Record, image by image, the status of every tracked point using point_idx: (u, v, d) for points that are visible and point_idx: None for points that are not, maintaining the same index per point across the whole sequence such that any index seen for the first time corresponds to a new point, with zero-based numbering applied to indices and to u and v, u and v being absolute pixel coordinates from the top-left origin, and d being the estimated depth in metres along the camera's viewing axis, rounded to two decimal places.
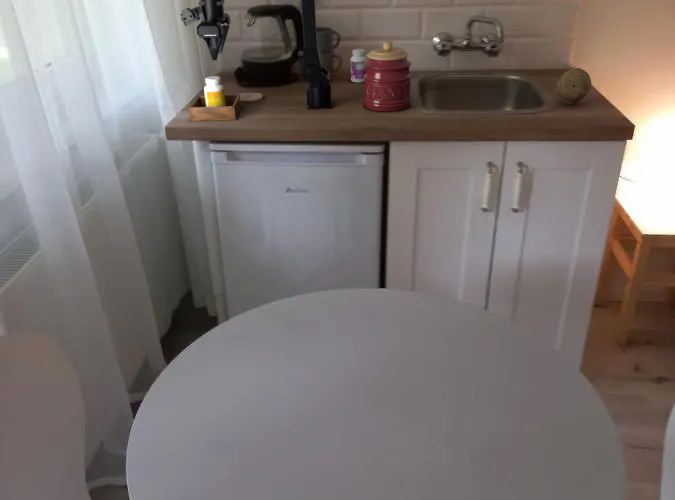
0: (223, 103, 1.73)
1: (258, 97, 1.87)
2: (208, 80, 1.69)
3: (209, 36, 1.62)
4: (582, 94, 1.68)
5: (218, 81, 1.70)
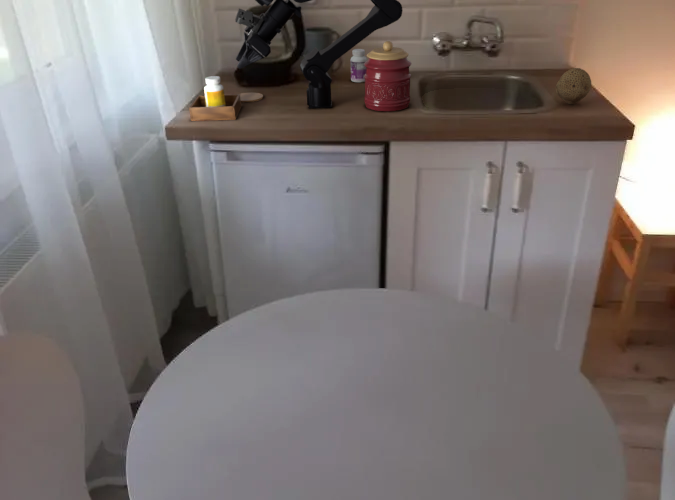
0: (223, 103, 1.73)
1: (258, 97, 1.87)
2: (208, 80, 1.69)
3: (255, 50, 1.61)
4: (582, 94, 1.68)
5: (218, 81, 1.70)
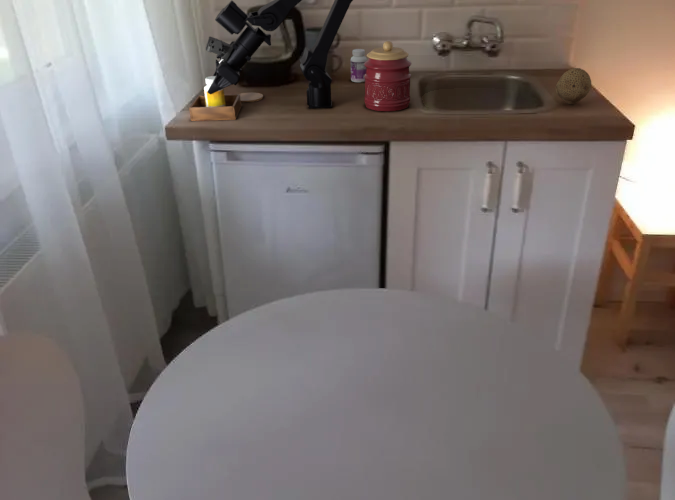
0: (223, 103, 1.73)
1: (258, 97, 1.87)
2: (208, 80, 1.69)
3: (224, 76, 1.65)
4: (582, 94, 1.68)
5: None
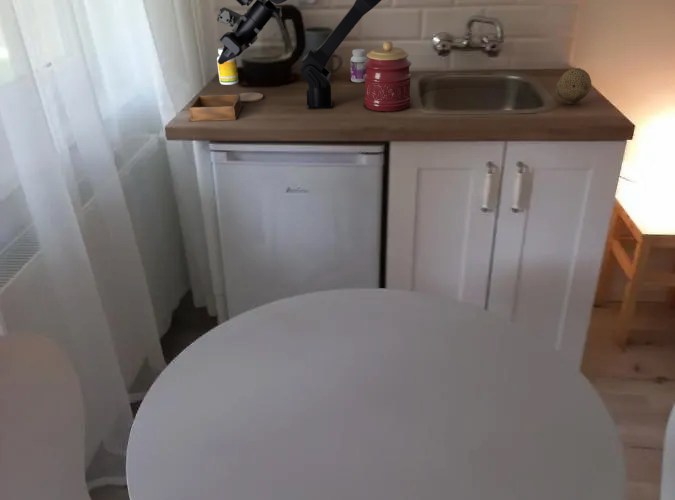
0: (234, 74, 1.76)
1: (258, 97, 1.87)
2: (219, 50, 1.73)
3: None
4: (582, 94, 1.68)
5: None
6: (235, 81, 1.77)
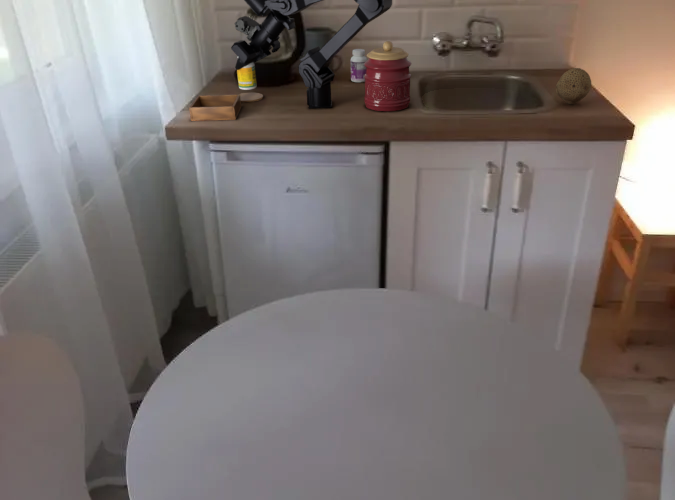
0: (250, 80, 1.84)
1: (258, 97, 1.87)
2: None
3: None
4: (582, 94, 1.68)
5: None
6: (251, 87, 1.85)
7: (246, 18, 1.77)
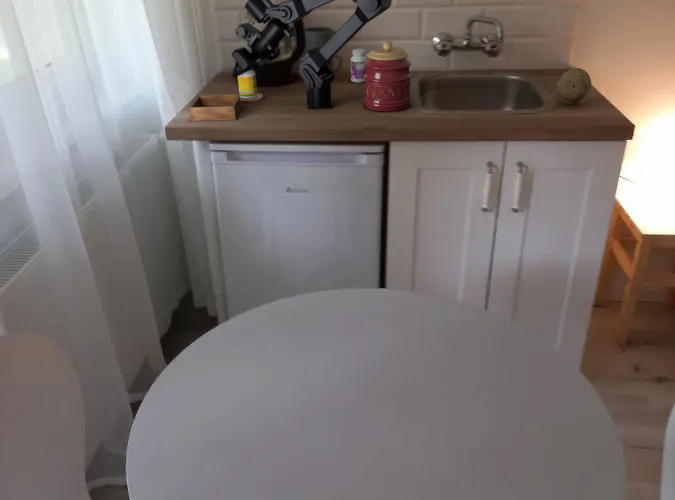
0: (251, 89, 1.85)
1: (258, 97, 1.87)
2: None
3: None
4: (582, 94, 1.68)
5: None
6: (252, 96, 1.86)
7: (247, 25, 1.78)
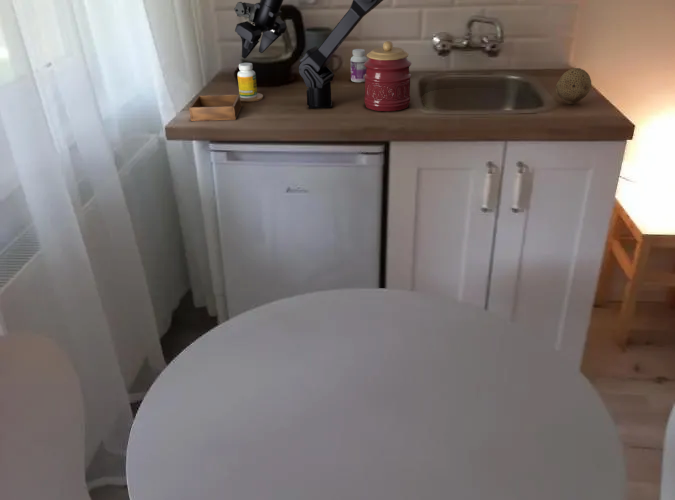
0: (251, 89, 1.85)
1: (258, 97, 1.87)
2: (239, 66, 1.83)
3: (244, 37, 1.69)
4: (582, 94, 1.68)
5: (247, 68, 1.82)
6: (252, 96, 1.86)
7: (245, 3, 1.74)
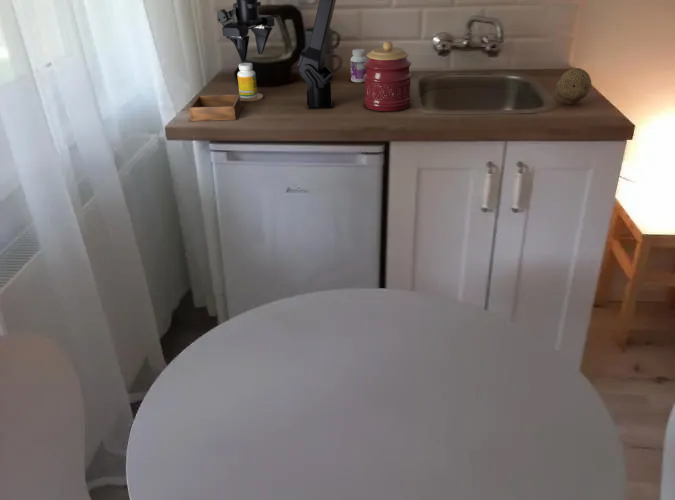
0: (251, 89, 1.85)
1: (258, 97, 1.87)
2: (239, 66, 1.83)
3: (234, 37, 1.68)
4: (582, 94, 1.68)
5: (247, 68, 1.82)
6: (252, 96, 1.86)
7: None
